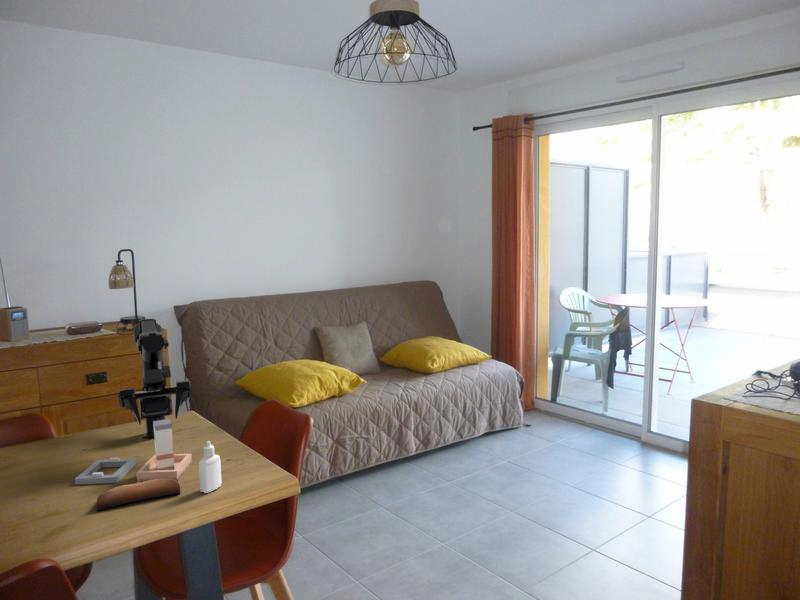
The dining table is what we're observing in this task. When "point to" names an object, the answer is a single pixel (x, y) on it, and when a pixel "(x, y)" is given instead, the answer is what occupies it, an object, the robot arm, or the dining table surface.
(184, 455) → the dish
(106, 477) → the clip frame
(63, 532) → the dining table surface
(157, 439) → the white rectangular block
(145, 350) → the robot arm
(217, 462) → the eye dropper bottle
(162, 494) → the sunglasses case
